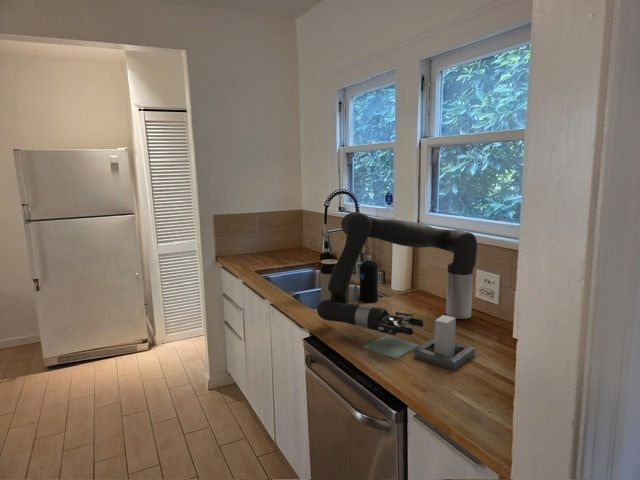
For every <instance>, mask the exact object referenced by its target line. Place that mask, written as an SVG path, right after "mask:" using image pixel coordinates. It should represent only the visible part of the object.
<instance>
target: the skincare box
mask: <svg viewBox="0 0 640 480" xmlns="http://www.w3.org/2000/svg"><path fill="white" fill-rule="evenodd" d="M456 324H457V323H456V318H455V317H450V316H447V315H444V314H442V315H441V316H439V317H438V318H436V319H435V320H434V338H435V343H434V351H433V352H434V353H437V354H440V355H443V356H447V357H450V358H452V357H453V356H455V355H456V353H455V343H456Z"/></svg>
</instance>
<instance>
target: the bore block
mask: <svg viewBox="0 0 640 480" xmlns="http://www.w3.org/2000/svg"><path fill="white" fill-rule="evenodd" d="M434 343H435V337H433V338H432V339H430V340H428V341H427V342H425V343H423V344H420V346H419V347H417V348H415V349H414V350H413V357H414V358H415V359H418V360H421V361H424V362H428V363H430V364H434V365H436V366H439V367H442V368H444V369H448V370H451V371H454V372H455V371H456V370H457V369H459V368H460V367H461V366H463V365H464V364H465V363H467V362H468V361H470V360H471V359H473V358H474V357H475V356H476V347H472V346H468V345H465V344H461V343H458V342H455V355H454V356H452V357H451V358H450V357H447V356H443V355H440V354H437V353H434Z"/></svg>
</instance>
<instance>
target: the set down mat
mask: <svg viewBox="0 0 640 480" xmlns="http://www.w3.org/2000/svg"><path fill="white" fill-rule="evenodd" d="M419 346H421V344H417V343H414V342H411V341H407V340H404V339H401V338H398V337H395V336H393V335H390V334H385V335H383V336H380V337H378V338H376V339H374V340H373V341H370V342H368V343H366V344H364V345H362V348H364V349H367V350H369V351H372V352H375V353H377V354H381V355H383V356H386V357H389V358H392V359H394V360H398V359H400V358H401V357H404V356H405V355H407V354H408V353H410V352H412V351H414V349H415V348H417V347H419Z"/></svg>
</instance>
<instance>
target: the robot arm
mask: <svg viewBox="0 0 640 480" xmlns="http://www.w3.org/2000/svg"><path fill="white" fill-rule="evenodd" d="M340 224H341V230H342V231H343V233H344V234H345V235H346V239H345V240H346V241H345V244H344V247H343V250H342V252H341V254H340V256H339V258H338V259H337V263H336V265H335V267H334V269H333V272H332V275H331V278H330V281H329V284H328V290H329V292H331V298H330V300H323V301H321V300H320V302H319V303H318V305H317V307H316V312H317V315H318V316H319V317H320V318H321V319H322V320H324V321H329V322H336V323H337V322H339V323H345V324H349V325H353V326H356V327H360V328H363V329H367V330H372V331H376V332H379V333H383V334H385V335H389V336H396V335H401V334H403V335H408V336H412V335H413V334H414V331H413V330H414V329H413V327H409V326H410V325H411V326H416V327H423V326H424V320H423V319H421V318H416V317H413V316H414V314H410V313H406V312H398V311H396V312H395V314H390V313H389V311H388V310H387V309H386V308H383V307H382V308H381V307H376V306H371V305H362V304H356V303H347V292H348V290H349V286H350V283H351V279H352V276H353V273H354V271H355V268H356V264H357V262H358V259H359V257H360V256H361V253H362V251H363V248H364V246H365V244H366V242H367V240H368V239H369V238H372V239H378V240H381V241H384V242H387V243H391V244H394V245H398V246H403V247H407V248H408V247H410V248H417V249H418V248H435V249H440V250H443V251H447V252H449V253H452V254H453V260H452V262H451V263H449V264H447V278H446V304H445V305H446V306H445V307H446V308H445V309H446V310H445V314H446V315H445V316H450V317H455V318H456V319H457V320H467V319H470V318H472V303H473V281H474V278H473V277H474V268H475V266H476V263H477V252H478V241H477V238H476V236H475V234H474V233H472V232H470V231H466V230H461V229H446V228H437V227H432V226H430V225H428V224H427V225H426V224H424V223H419V222H414V221H409V220H401V219H400V220H399V219H384V218H377V217H373V216H369V215H367V214H365V213H362V212H358V211H353V212H349V213H348V214H346V215H345V216H344V217H343V218H342V220H341V222H340ZM406 325H407V326H406ZM408 325H409V326H408Z"/></svg>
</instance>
